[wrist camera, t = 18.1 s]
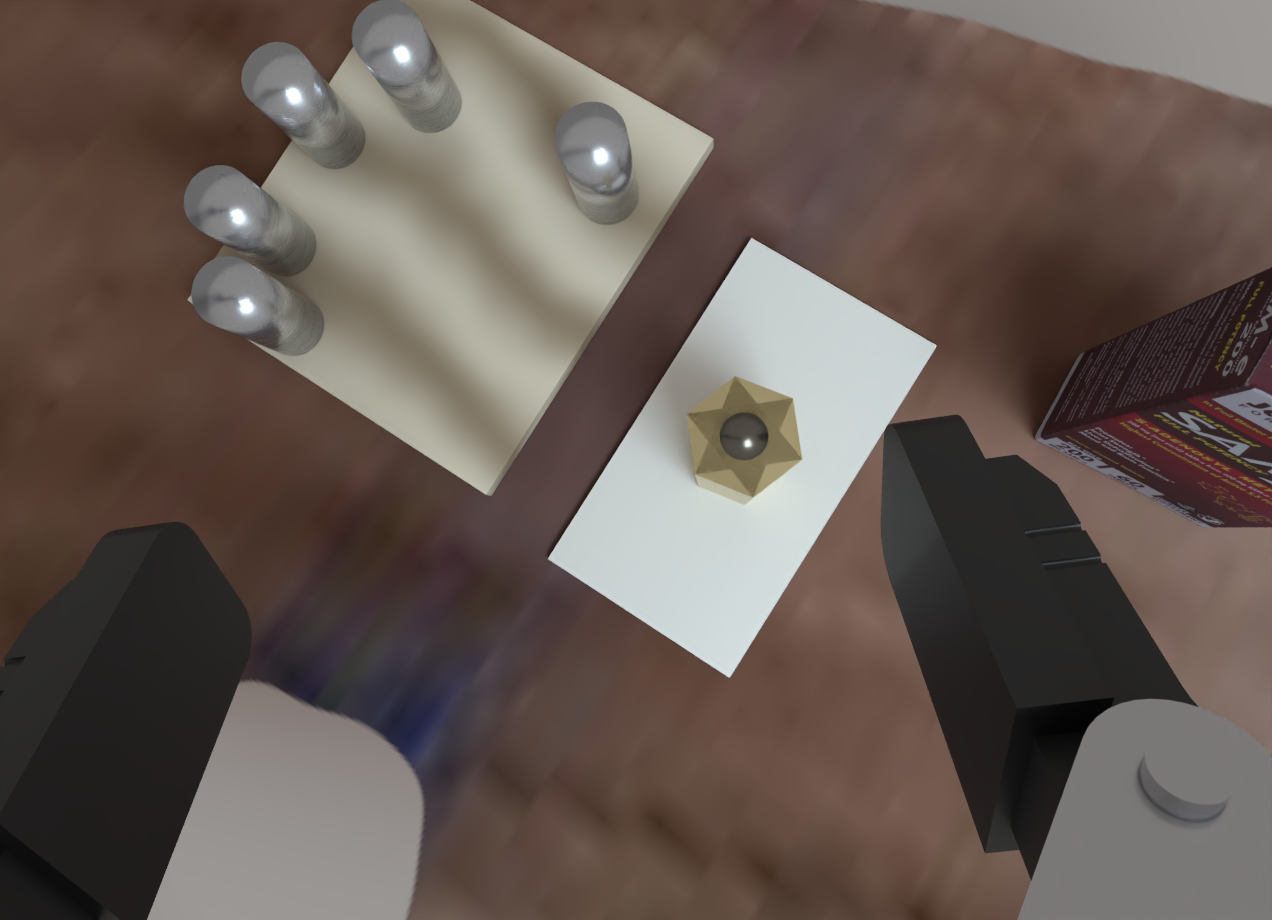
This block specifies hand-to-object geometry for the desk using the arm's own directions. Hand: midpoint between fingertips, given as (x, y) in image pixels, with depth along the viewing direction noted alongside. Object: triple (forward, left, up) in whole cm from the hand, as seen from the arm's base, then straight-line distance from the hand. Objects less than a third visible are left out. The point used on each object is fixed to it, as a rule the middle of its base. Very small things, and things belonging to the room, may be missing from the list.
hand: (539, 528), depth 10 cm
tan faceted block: (+5, -1, -30) cm, 31 cm away
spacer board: (+7, +17, -31) cm, 36 cm away
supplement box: (+15, -16, -31) cm, 38 cm away
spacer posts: (+5, +18, -30) cm, 35 cm away
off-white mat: (+5, -1, -31) cm, 31 cm away
